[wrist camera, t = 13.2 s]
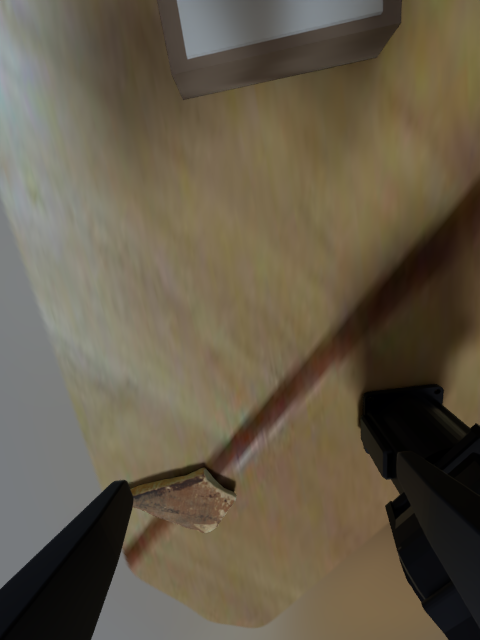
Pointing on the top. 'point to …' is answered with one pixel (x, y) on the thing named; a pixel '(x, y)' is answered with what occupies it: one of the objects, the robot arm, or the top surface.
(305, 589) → the top surface
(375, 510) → the top surface
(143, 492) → the shard
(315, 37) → the plate
